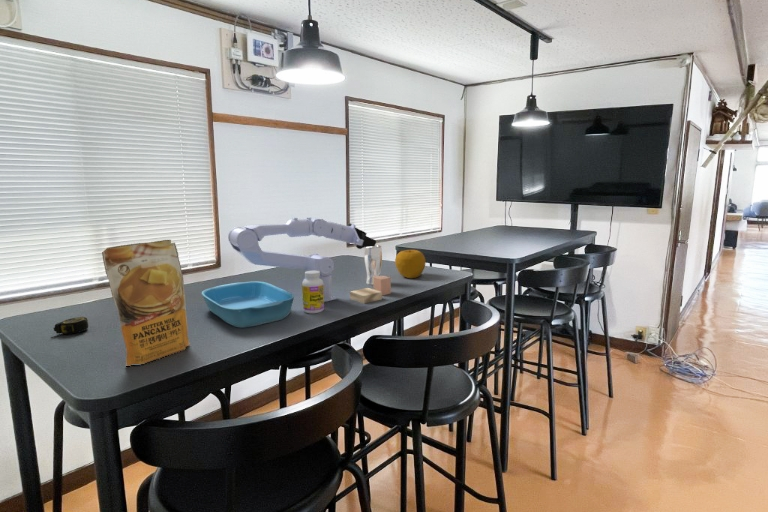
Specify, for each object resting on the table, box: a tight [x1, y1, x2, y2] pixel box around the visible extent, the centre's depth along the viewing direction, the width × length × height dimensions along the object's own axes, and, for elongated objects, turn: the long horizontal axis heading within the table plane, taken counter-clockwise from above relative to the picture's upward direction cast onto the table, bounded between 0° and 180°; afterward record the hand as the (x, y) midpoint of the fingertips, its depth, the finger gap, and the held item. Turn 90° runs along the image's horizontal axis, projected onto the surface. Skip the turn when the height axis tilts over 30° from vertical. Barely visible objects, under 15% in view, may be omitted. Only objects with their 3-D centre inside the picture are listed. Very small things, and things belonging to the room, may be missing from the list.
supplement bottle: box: [301, 270, 325, 314], centre depth 145 cm, size 7×7×13 cm
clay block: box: [372, 275, 392, 296], centre depth 166 cm, size 4×4×6 cm
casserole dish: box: [201, 280, 295, 329], centre depth 144 cm, size 37×22×7 cm, turn 37°
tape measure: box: [52, 316, 89, 335], centre depth 130 cm, size 7×7×4 cm
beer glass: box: [363, 244, 383, 286], centre depth 180 cm, size 7×7×15 cm
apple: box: [394, 249, 427, 279], centre depth 192 cm, size 13×13×11 cm
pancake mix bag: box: [101, 239, 191, 368], centre depth 109 cm, size 7×19×28 cm, turn 146°
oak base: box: [349, 287, 383, 304], centre depth 159 cm, size 8×8×3 cm
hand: (370, 239), depth 168 cm, fingers open, 7 cm apart
